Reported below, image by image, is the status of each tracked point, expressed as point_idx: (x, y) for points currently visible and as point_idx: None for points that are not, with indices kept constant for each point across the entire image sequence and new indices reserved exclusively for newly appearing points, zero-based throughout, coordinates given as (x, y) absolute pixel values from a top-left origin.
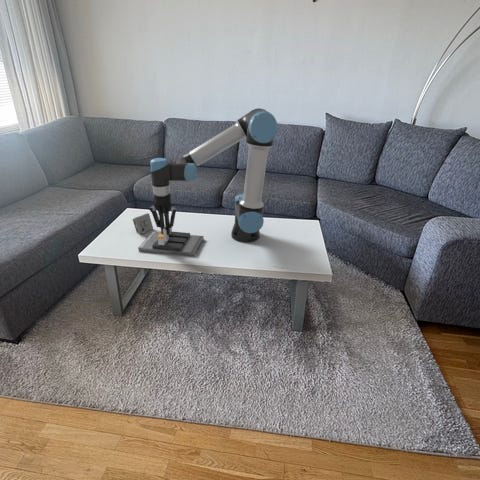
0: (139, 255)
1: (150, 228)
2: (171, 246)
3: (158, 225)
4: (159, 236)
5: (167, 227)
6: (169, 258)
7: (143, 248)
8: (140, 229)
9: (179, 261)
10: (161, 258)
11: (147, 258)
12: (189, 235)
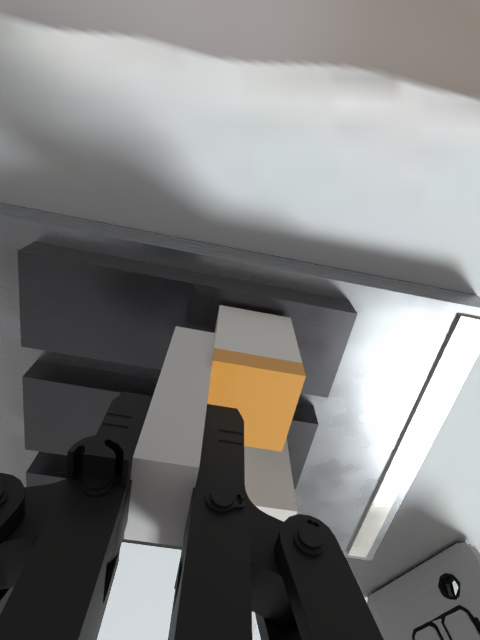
0: (471, 217)
1: (387, 601)
2: (133, 288)
3: (292, 553)
4: (274, 382)
5: (76, 493)
6: (151, 145)
7: (444, 299)
8: (471, 585)
9: (21, 70)
10: (237, 147)
11: (387, 150)
12: None
